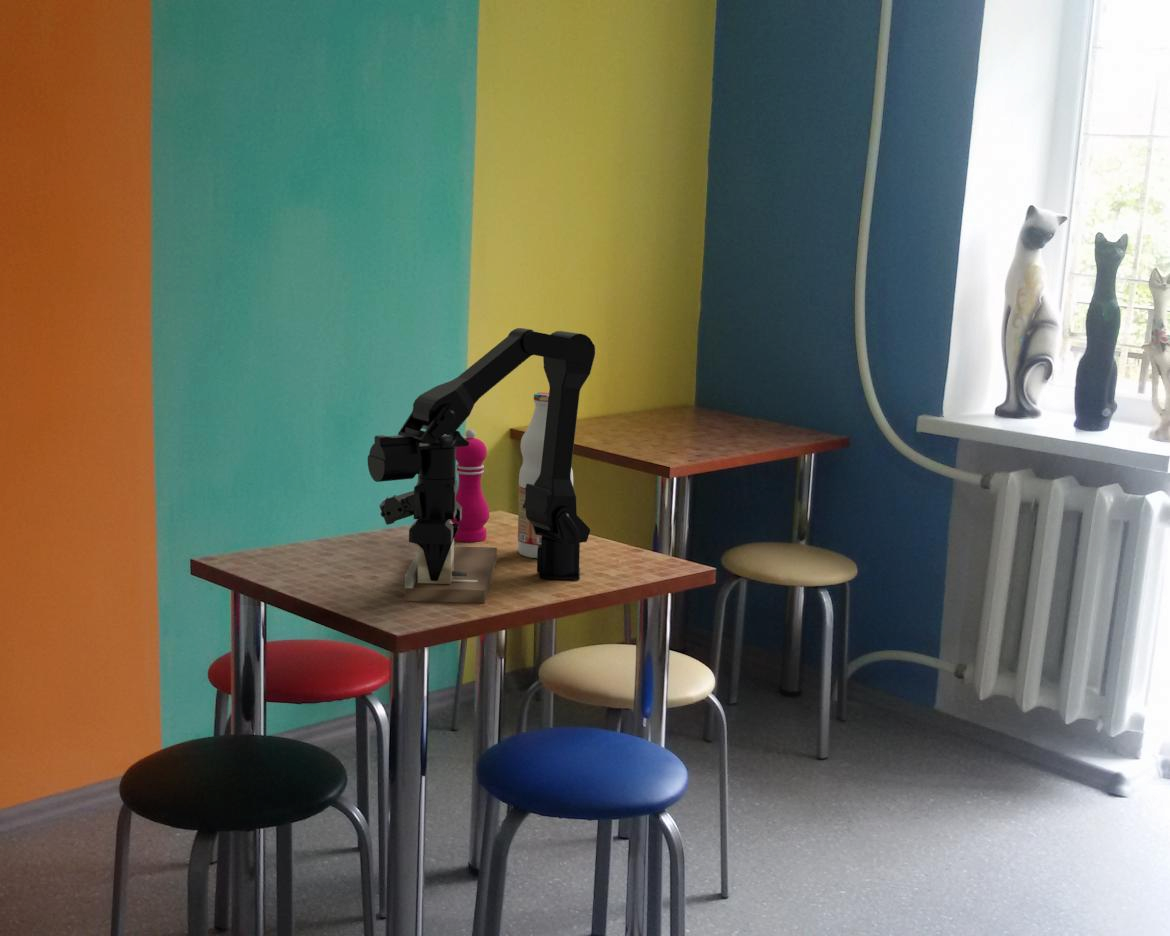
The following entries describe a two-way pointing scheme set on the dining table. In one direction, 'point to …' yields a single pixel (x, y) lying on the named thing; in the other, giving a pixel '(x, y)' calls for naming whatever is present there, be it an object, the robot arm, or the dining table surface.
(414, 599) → the walnut board
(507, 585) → the dining table surface
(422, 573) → the beige block
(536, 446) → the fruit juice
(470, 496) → the pepper mill
